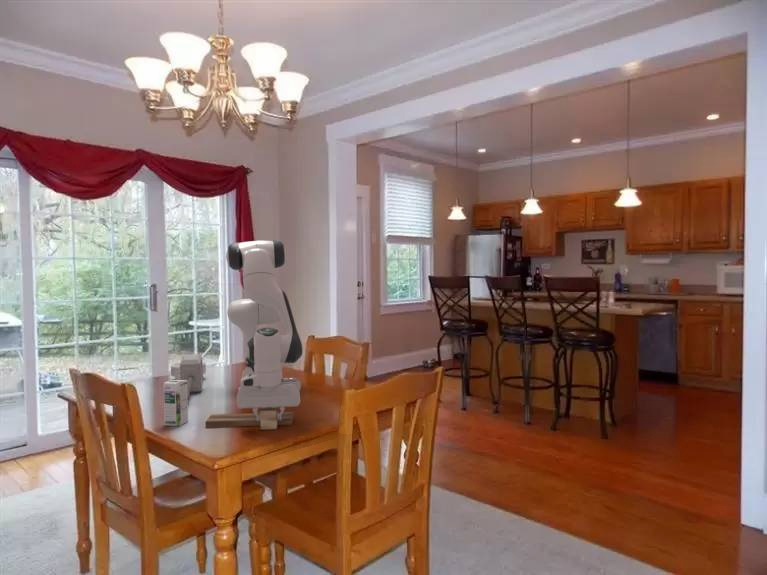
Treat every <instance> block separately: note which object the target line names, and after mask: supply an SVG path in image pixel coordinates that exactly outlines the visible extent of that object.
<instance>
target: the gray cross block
mask: <svg viewBox="0 0 767 575" xmlns="http://www.w3.org/2000/svg"><path fill="white" fill-rule="evenodd" d="M180 363H181V362H176V363H173V364H170V376H171V377H174V378H175V380H181V374H180ZM202 366H203V375H205V374H206V371H207V370H206V369H207V368H206V367H207V366H206V362H204V361H202Z"/></svg>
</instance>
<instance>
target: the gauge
mask: <svg viewBox="0 0 767 575" xmlns="http://www.w3.org/2000/svg"><path fill="white" fill-rule="evenodd" d="M259 413H260V418H261V426H260V430H277V428H278V426H279V425H278V420H277V414H278V407H266V408H261V409H260V412H259Z"/></svg>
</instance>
